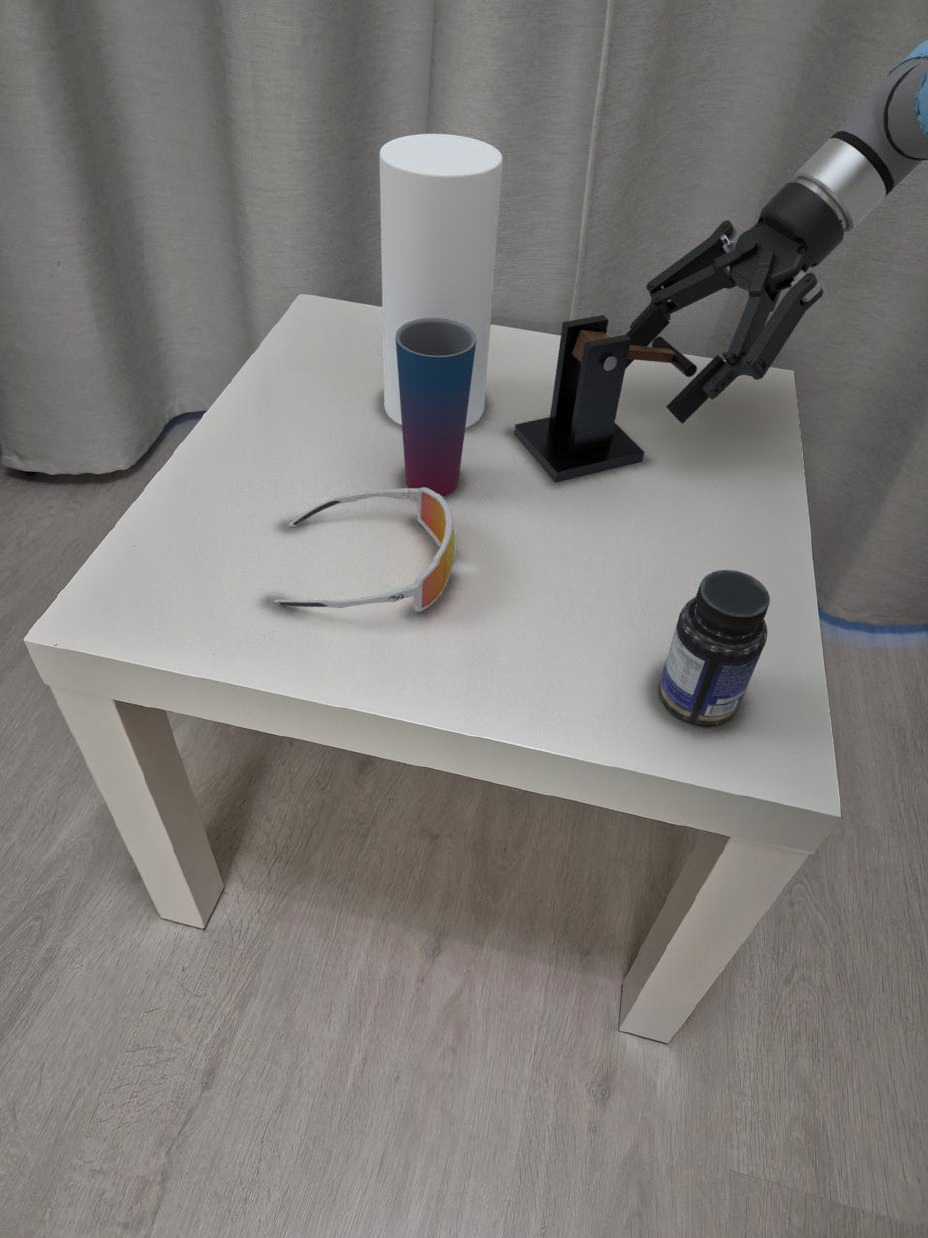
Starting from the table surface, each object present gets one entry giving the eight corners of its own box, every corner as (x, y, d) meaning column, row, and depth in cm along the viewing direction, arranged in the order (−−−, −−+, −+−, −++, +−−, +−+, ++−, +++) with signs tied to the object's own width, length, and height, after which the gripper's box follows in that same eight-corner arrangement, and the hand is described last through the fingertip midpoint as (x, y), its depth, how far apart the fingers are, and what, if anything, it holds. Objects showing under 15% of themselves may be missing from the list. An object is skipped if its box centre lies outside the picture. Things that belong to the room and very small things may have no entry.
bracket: (597, 415, 94) (617, 300, 85) (642, 461, 88) (669, 344, 79) (513, 434, 91) (525, 316, 82) (555, 483, 85) (573, 363, 76)
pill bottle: (739, 677, 68) (783, 573, 60) (735, 738, 64) (781, 634, 56) (661, 659, 69) (693, 554, 61) (651, 717, 65) (685, 612, 57)
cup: (389, 466, 86) (386, 321, 75) (455, 456, 87) (462, 313, 77) (406, 508, 81) (407, 360, 70) (476, 497, 83) (487, 351, 72)
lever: (657, 353, 90) (667, 331, 88) (691, 382, 86) (702, 360, 84) (561, 344, 84) (570, 320, 82) (593, 374, 80) (603, 350, 78)
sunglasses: (460, 625, 71) (454, 580, 67) (277, 639, 72) (261, 595, 68) (458, 514, 81) (452, 470, 77) (297, 528, 81) (284, 485, 78)
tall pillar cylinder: (363, 404, 93) (353, 149, 76) (432, 369, 99) (438, 125, 81) (436, 445, 88) (444, 184, 71) (504, 406, 94) (527, 155, 77)
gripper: (917, 282, 77) (726, 466, 84) (757, 191, 92) (604, 354, 98) (896, 228, 72) (693, 429, 78) (729, 140, 86) (569, 316, 92)
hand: (643, 387), depth 88 cm, fingers open, 10 cm apart
